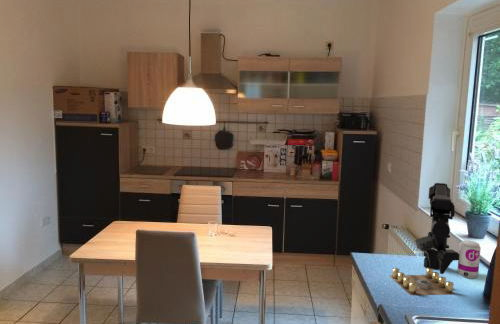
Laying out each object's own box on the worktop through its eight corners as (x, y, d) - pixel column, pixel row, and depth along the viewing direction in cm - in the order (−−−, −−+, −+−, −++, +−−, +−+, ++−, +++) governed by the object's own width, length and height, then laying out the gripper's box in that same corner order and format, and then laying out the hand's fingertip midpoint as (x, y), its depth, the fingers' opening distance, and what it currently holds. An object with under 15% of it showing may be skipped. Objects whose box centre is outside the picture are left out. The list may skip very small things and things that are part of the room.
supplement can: (480, 279, 179) (483, 246, 178) (460, 277, 181) (463, 244, 179) (474, 272, 187) (477, 240, 185) (454, 271, 189) (457, 239, 187)
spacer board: (428, 276, 181) (429, 274, 181) (455, 296, 161) (455, 294, 161) (388, 277, 179) (388, 275, 179) (410, 297, 159) (410, 295, 159)
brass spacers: (430, 276, 179) (430, 267, 179) (453, 293, 162) (454, 283, 161) (391, 276, 178) (391, 267, 177) (410, 294, 160) (411, 284, 160)
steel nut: (425, 283, 171) (426, 279, 171) (433, 289, 165) (433, 284, 165) (414, 284, 170) (414, 279, 170) (421, 289, 165) (421, 285, 164)
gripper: (407, 224, 165) (405, 262, 167) (432, 238, 147) (429, 280, 148) (434, 224, 166) (431, 261, 168) (462, 238, 148) (458, 279, 149)
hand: (436, 270), depth 158 cm, fingers open, 7 cm apart
